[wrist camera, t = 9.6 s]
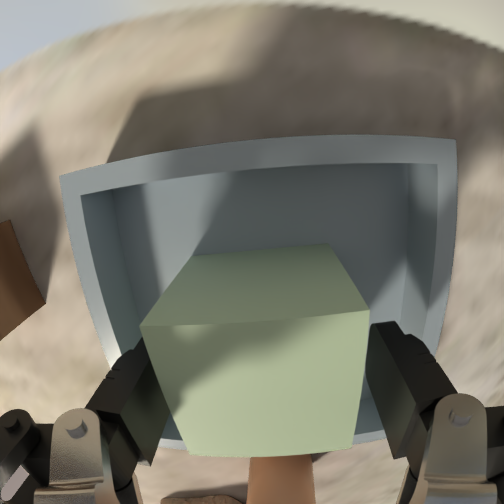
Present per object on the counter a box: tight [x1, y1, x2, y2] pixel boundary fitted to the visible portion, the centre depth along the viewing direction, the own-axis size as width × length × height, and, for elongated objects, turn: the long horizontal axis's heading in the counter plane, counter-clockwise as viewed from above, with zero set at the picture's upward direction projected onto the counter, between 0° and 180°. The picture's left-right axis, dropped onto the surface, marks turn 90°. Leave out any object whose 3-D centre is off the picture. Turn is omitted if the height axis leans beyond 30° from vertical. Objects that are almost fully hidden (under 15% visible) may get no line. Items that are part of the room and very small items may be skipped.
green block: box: [139, 243, 370, 457], centre depth 9 cm, size 5×5×5 cm
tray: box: [59, 135, 458, 450], centre depth 11 cm, size 13×13×3 cm
